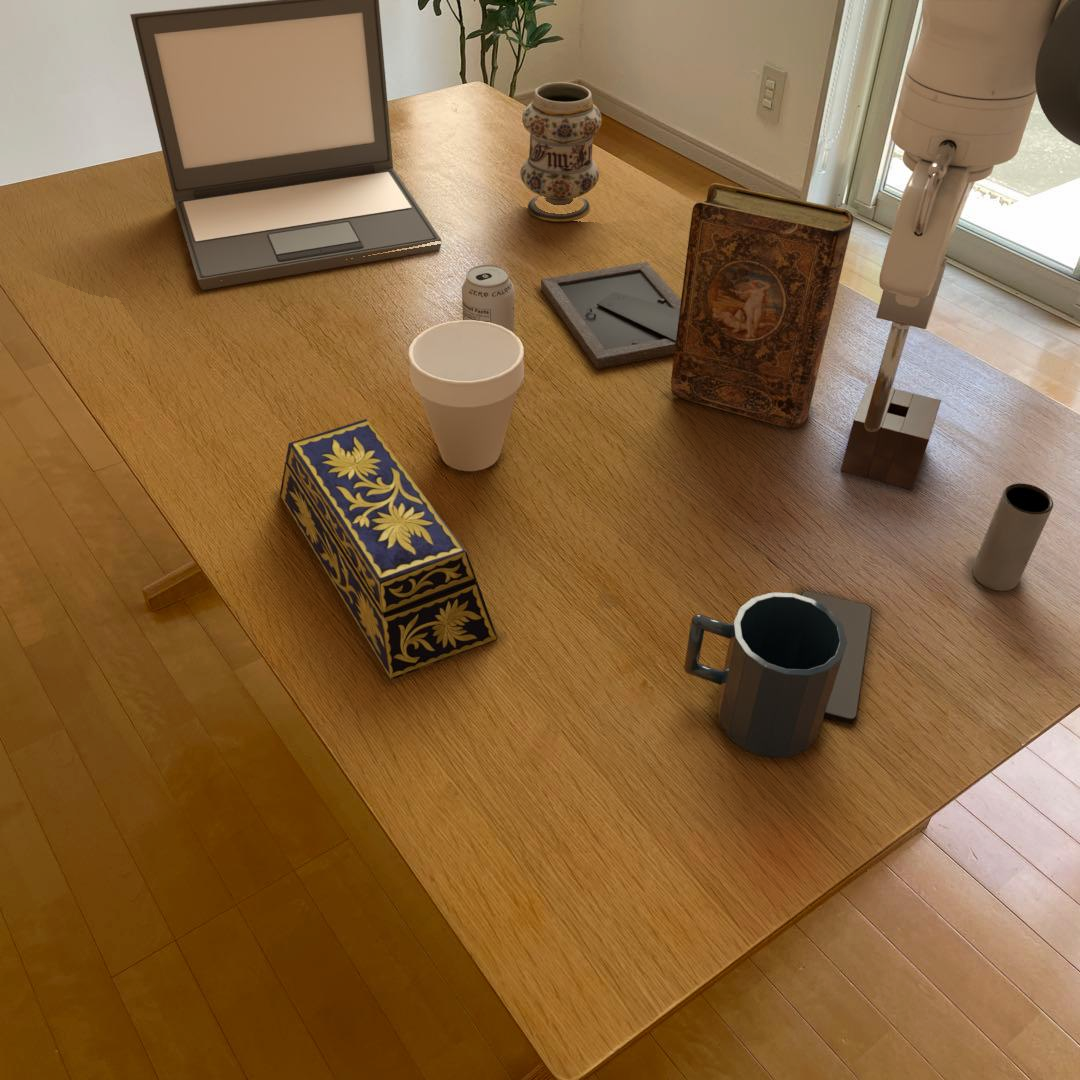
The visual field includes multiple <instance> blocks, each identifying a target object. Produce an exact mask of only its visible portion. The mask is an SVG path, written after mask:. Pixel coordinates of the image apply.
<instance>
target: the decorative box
mask: <svg viewBox="0 0 1080 1080" xmlns="http://www.w3.org/2000/svg"><path fill="white" fill-rule="evenodd" d="M286 452H287V453H286V457H285V462H284V468H283V473H282V479H281V485H280V490H279V496H280V498H281V500H282V501H283V503H284V504H285V506H286V508H287V510H288V511H289V513H290V515H291V517H293V520H294V521H295V523H296V525H297V526H298V528H299V530H300V531H301V533H302V535H303V537H305V540H306V541H307V543H308V544H309V546H310V548H311V549H312V551H313V553H314V554H315V556H316V558H317V560H318V561H319V563H320V564H321V566H322V567H323V569H324V571H325V573H326V574H327V576H328V578H329V579H330V582H331V583H332V585H333V587H334V588H335V590H336V591H337V592H338V594H339V597H340V598H341V599H342V601H343V602H344V605H345V606H346V608H347V609H348V611H349V613H350V614H351V616H352V618H353V619H354V621H355V622H356V624H357V626H358V627H359V629H360V631H361V632H362V635H363V636H364V637H365V639H366V641H367V643H368V645H370V648H371V649H372V651H373V652H374V654H375V656H376V658H377V659H378V661H379V662H380V664H381V666H382V668H383V669H384V671H385V672H386V674H387V675H388V677H389V679H390V680H394V679H397V678H399V677H401V676H404V675H406V674H409V673H413V672H415V671H418V670H419V669H423V668H425V667H428V666H431V665H434V664H436V663H439V662H441V661H443V660H445V659H448V658H451V657H454V656H456V655H459V654H463V653H464V652H466V651H470V650H472V649H475V648H477V647H479V646H483V645H485V644H488V643H490V642H493V641H496V640H497V639H498V636H497V633H496V631H495V626H494V624H493V621H492V619H491V615H490V613H489V611H488V610H489V609H488V607H487V605H486V602H485V599H484V596H483V593H482V591H481V588H480V585H479V582H478V579H477V577H476V574H475V571H474V568H473V566H472V563H471V559H470V557H469V554H468V552H467V551H468V550H466V549H465V547H464V546H463V545H462V543H461V542H460V540H459V539H458V538H457V537H456V535H455V534H454V533H453V531H452V530H451V529H450V527H449V526H448V525H447V524H446V522H445V521H444V519H443V518H442V517H441V516H440V514H439V513H438V511H437V510H436V509H435V508H434V507H433V505H432V504H431V502H430V501H429V500H428V499H427V497H426V496H425V494H424V493H423V492H422V490H421V489H420V488H419V486H418V485H417V483H415V481H414V479H412V477H411V475H409V473H408V472H407V471H406V469H405V468H404V466H403V465H402V463H400V461H399V460H398V459H397V457H396V456H395V455H394V454H393V452H392V450H390V448H389V447H388V445H387V444H386V443H385V442H384V440H383V439H382V437H381V436H380V435H379V433H377V431H376V430H375V427H373V426H372V424H371V423H370V422H369V420H368V418H364V419H361V420H358V421H355V422H351V423H349V424H345V425H342V426H339V427H336V428H332V429H329V430H325V431H323V432H320V433H317V434H313V435H310V436H307V437H304V438H301V439H296V440H294V441H291V442H288V445H287V451H286ZM498 640H499V639H498Z"/></svg>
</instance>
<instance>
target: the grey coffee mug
mask: <svg viewBox="0 0 1080 1080" xmlns="http://www.w3.org/2000/svg"><path fill="white" fill-rule="evenodd" d="M690 622H691V623H690V627H689V628H690V629H689V634H688V641H687V645H686V646H687V647H686V652H685V660H684V665H683V669H684V672H685V673H686V674H688V675H690V676H693V677H695V678H699V679H701V680H705V681H707V682H710V683H713V684H716V685H719V690H718V695H717V700H716V701H717V706H716V709H717V710H716V713H717V719H718V722H719V724H720V726H721V729H722V730H723V732H724V733H725V735H726V736H727V737H728V738H729V739H730V740H731V741H732V742H734V744H736V745H737V746H739V747H740V748H742V749H744V750H745V751H747V752H749V753H752V754H753V755H757V756H760V757H766V758H772V759H773V758H774V759H777V758H778V759H779V758H789V757H793V756H796V755H798V754H800V753H802V752H804V751H806V750H807V749H808V748H810V747H811V746H812V745H813V744H814V743H815V741H816V740H817V738H818V736H819V733H820V730H821V727H822V724H823V722H824V718H825V717H824V715H825V712H826V708H827V705H828V702H829V699H830V696H831V693H832V689H833V686H834V683H835V680H836V677H837V674H838V671H839V667H840V664H841V661H842V658H843V655H844V652H845V649H846V645H847V639H846V635H845V631H844V627H843V625H842V624H841V622H840V621H839V620H838V619H837V617H836V616H835V615H834V613H833V612H832V611H831V610H830V609H828V608H826V607H825V606H823V605H822V604H820V603H819V602H817V601H816V600H814V599H811V598H808V597H804V596H801V594H797V593H794V592H779V591H778V592H776V591H774V592H773V591H772V592H767V593H765V594H760V595H757V596H753V597H752V598H750V599H749V600H748V601H746V602H745V603H744V604H742V605H741V606H740V607H739V608H738V610H737V613H736V616H735V617H734V619H733V621H732V622H733V623H729V622H726V621H722V620H719V619H716V618H713V617H710V616H707V615H704V614H700V613H697V614H694V615H693V616H692V618H691V621H690ZM705 632H707V633H711V634H714V635H717V636H719V637H723V638H725V639H728V640H729V642H728V647H727V652H726V657H725V662H724V666H723V670H720V669H718V668H715V667H712V666H709V665H705V664H702V663H701V662H700V658H701V652H702V647H703V641H704V635H705Z"/></svg>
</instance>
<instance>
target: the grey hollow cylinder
mask: <svg viewBox="0 0 1080 1080" xmlns="http://www.w3.org/2000/svg"><path fill="white" fill-rule="evenodd" d="M1053 508H1054V501H1053V498H1052V497H1051V495H1049V493H1048V492H1046V490H1044V489H1042V488H1041V487H1038V486H1036V485H1033V484H1030V483H1020V482H1019V483H1012V484H1009V485H1008V486H1006V487H1005V488H1004V489H1003V491H1002V493H1001V496H1000V498H999V501H998V503H997V506H996V508H995V511H994V513H993V515H992V517H991V520H990V523H989V525H988V528H987V531H986V533H985V535H984V538H983V540H982V542H981V545H980V547H979V550H978V552H977V554H976V557H975V560H974V563H973V566H972V569H971V570H972V571H971V573H972V575H973V577H974V578H975V580H976V581H977V582H978V583H979V584H981V585H982V586H984V587H986V588H988V589H990V590H995V591H1000V592H1002V591H1003V592H1004V591H1005V592H1006V591H1010V590H1012V589H1014V588H1016V587H1017V586H1018V584H1019V582H1020V581H1021V578H1022V576H1023V574H1024V572H1025V570H1026V568H1027V565H1028V563H1029V561H1030V558H1031V557H1032V554H1033V552H1034V550H1035V548H1036V545H1037V543H1038V542H1039V539H1040V538H1041V534H1042V533H1043V530H1044V528H1045V526H1046V524H1047V521H1048V519H1049V518H1050V515H1051V512H1052V510H1053Z"/></svg>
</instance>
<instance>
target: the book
mask: <svg viewBox="0 0 1080 1080" xmlns="http://www.w3.org/2000/svg"><path fill="white" fill-rule="evenodd" d="M853 223H854V215H853V213H851V212H850V210H847V209H846V208H845V209H844V208H841V207H835V206H831V205H825V204H820V203H815V202H811V201H806V200H801V199H797V198H792V197H786V196H781V195H776V194H772V193H767V192H762V191H758V190H752V189H747V188H744V187H743V188H742V187H738V186H733V185H728V184H723V183H719V182H714V183H712V184H710V186H709V187H708V189H707V195H706V200H705V201H703V200H702V201H701V200H700V201H699V200H698V201H697V202H696V203H695V204H694V205H693V207H692V211H691V218H690V226H689V234H688V242H687V251H686V259H685V264H684V265H685V266H684V274H683V282H682V290H681V298H680V300H681V305H680V313H679V321H678V329H677V337H676V345H675V353H674V355H673V360H672V361H673V362H672V369H671V379H670V390H671V393H672V395H673V396H675V397H676V398H680V399H683V400H686V401H690V402H692V403H696V404H699V405H703V406H706V407H709V408H713V409H717V410H720V411H724V412H727V413H731V414H734V415H739V416H742V417H746V418H749V419H754V420H756V421H761V422H765V423H768V424H770V425H771V424H772V425H775V426H778V427H782V428H785V429H788V430H789V429H790V430H794V429H798V428H800V427H802V426H803V425H804V424H805V423H806V422H807V420H808V417H809V414H810V409H811V404H812V402H813V397H814V392H815V388H816V384H817V379H818V374H819V370H820V367H821V366H820V365H821V361H822V358H823V353H824V348H825V344H826V340H827V336H828V333H829V327H830V322H831V318H832V314H833V310H834V306H835V302H836V301H835V300H836V297H837V294H838V293H837V292H838V287H839V285H840V284H839V283H840V280H841V275H842V271H843V267H844V262H845V257H846V253H847V249H848V244H849V240H850V236H851V232H852V227H853Z"/></svg>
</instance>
